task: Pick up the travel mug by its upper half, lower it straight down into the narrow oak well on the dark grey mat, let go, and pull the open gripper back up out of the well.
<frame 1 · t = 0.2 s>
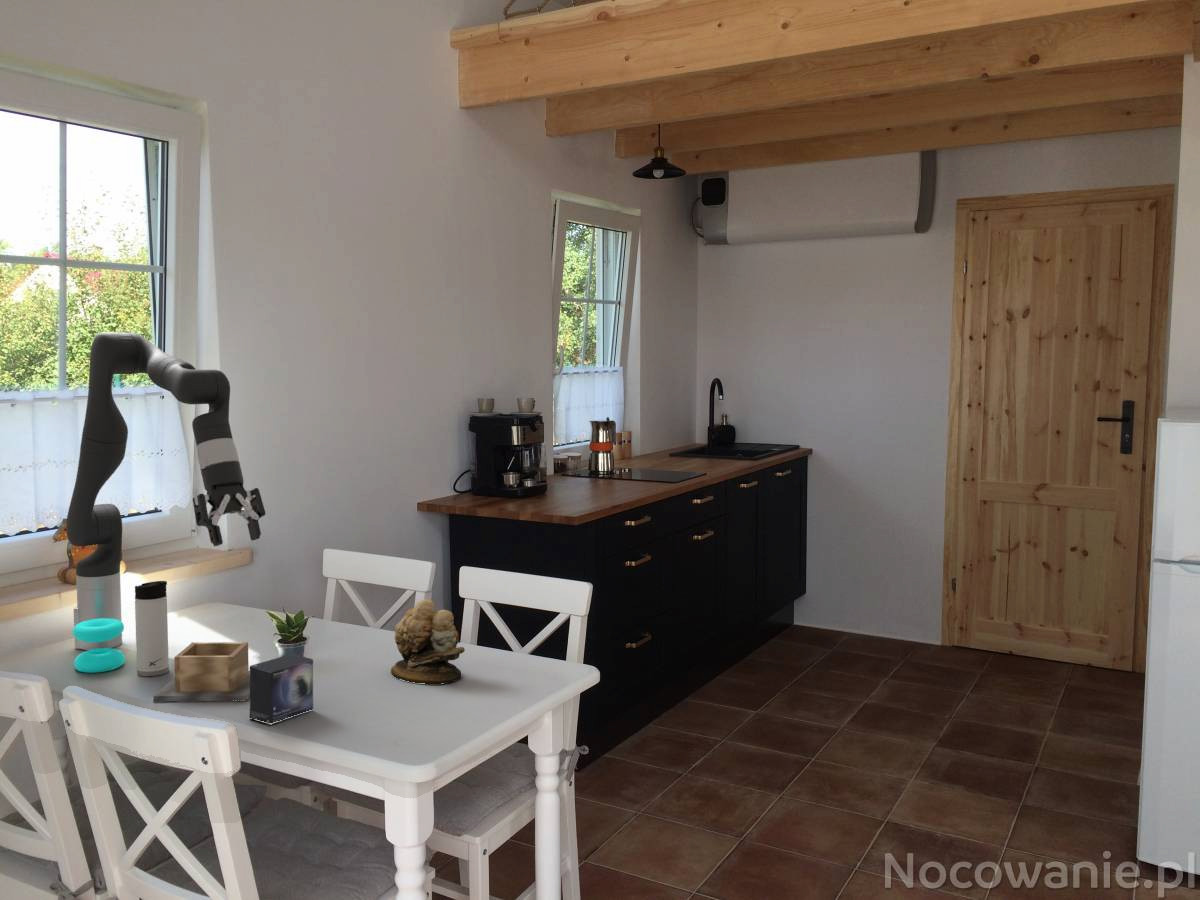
hand: (237, 542, 202), 31 cm above the table, tool tilted 20°, fingers open, 8 cm apart
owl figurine: (428, 676, 219), on the table
donuts: (99, 668, 222), on the table
small box: (282, 716, 194), on the table
travel mug: (153, 673, 219), on the table
well: (213, 688, 209), on the table
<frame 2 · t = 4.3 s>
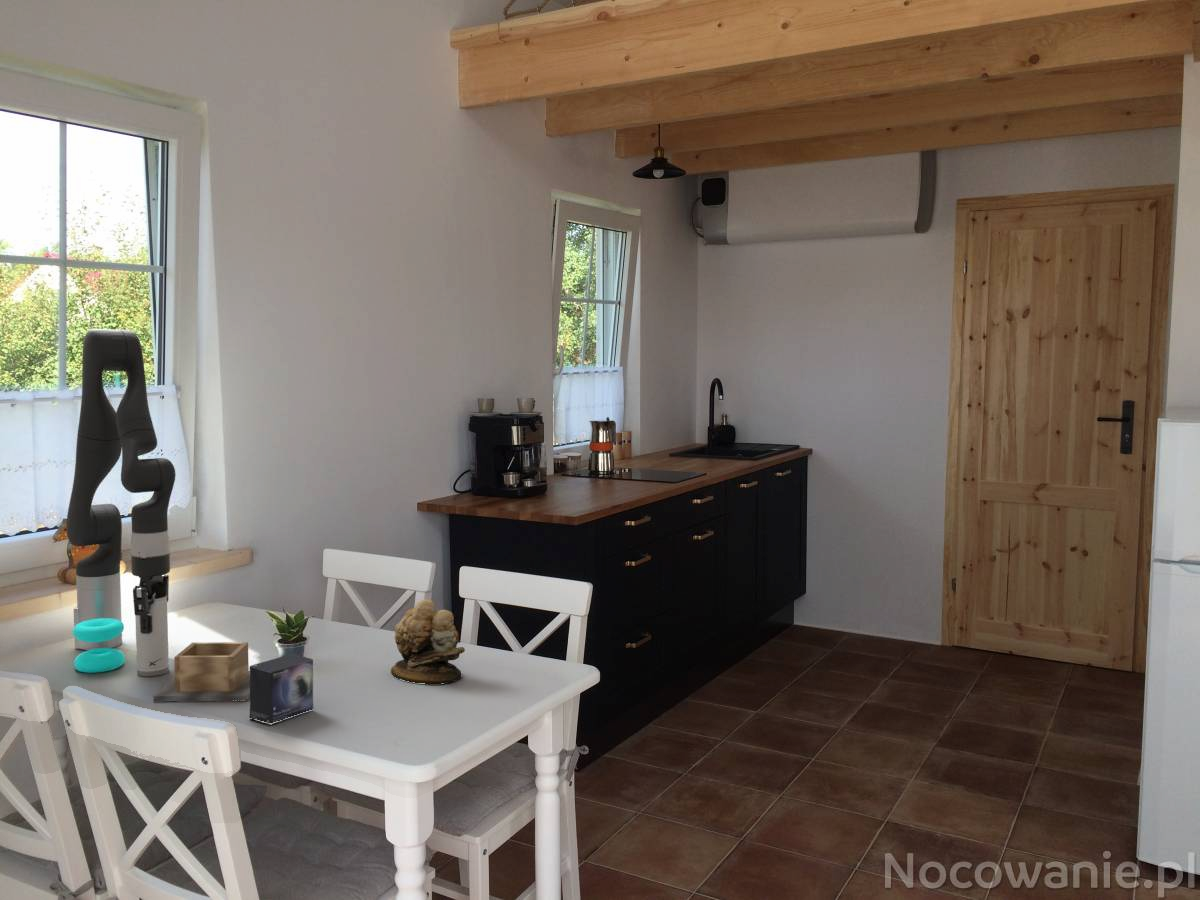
hand: (152, 628, 218), 10 cm above the table, tool pointing down, fingers closed on travel mug, 6 cm apart
travel mug: (153, 673, 219), on the table, touching gripper
everything else where it was.
when the fingers open (12 cm above the table, at t = 11.8 s): travel mug drops 1 cm, resting on well.
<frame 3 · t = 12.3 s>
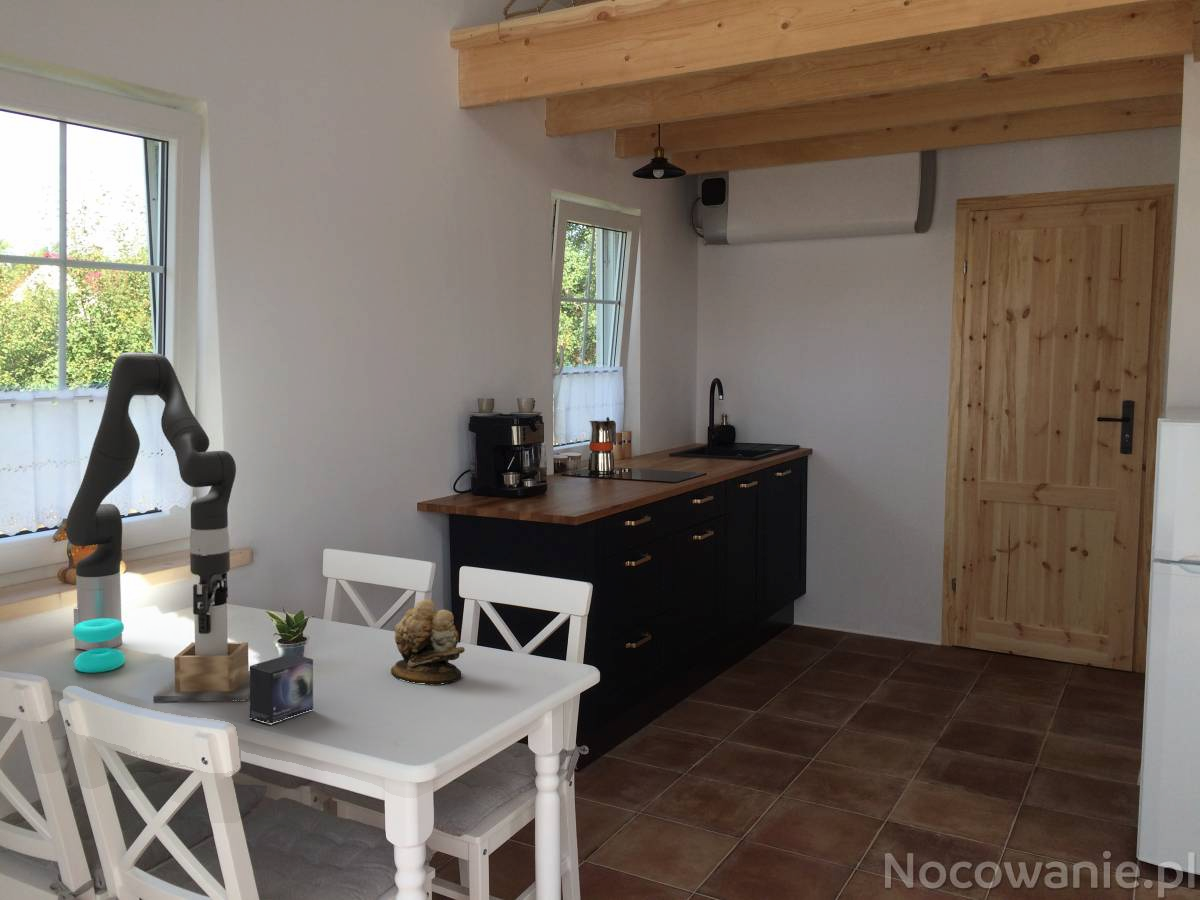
hand: (211, 627, 208), 13 cm above the table, tool pointing down, fingers open, 8 cm apart
travel mug: (212, 683, 209), point 1 cm above the table, touching well
everything else where it was.
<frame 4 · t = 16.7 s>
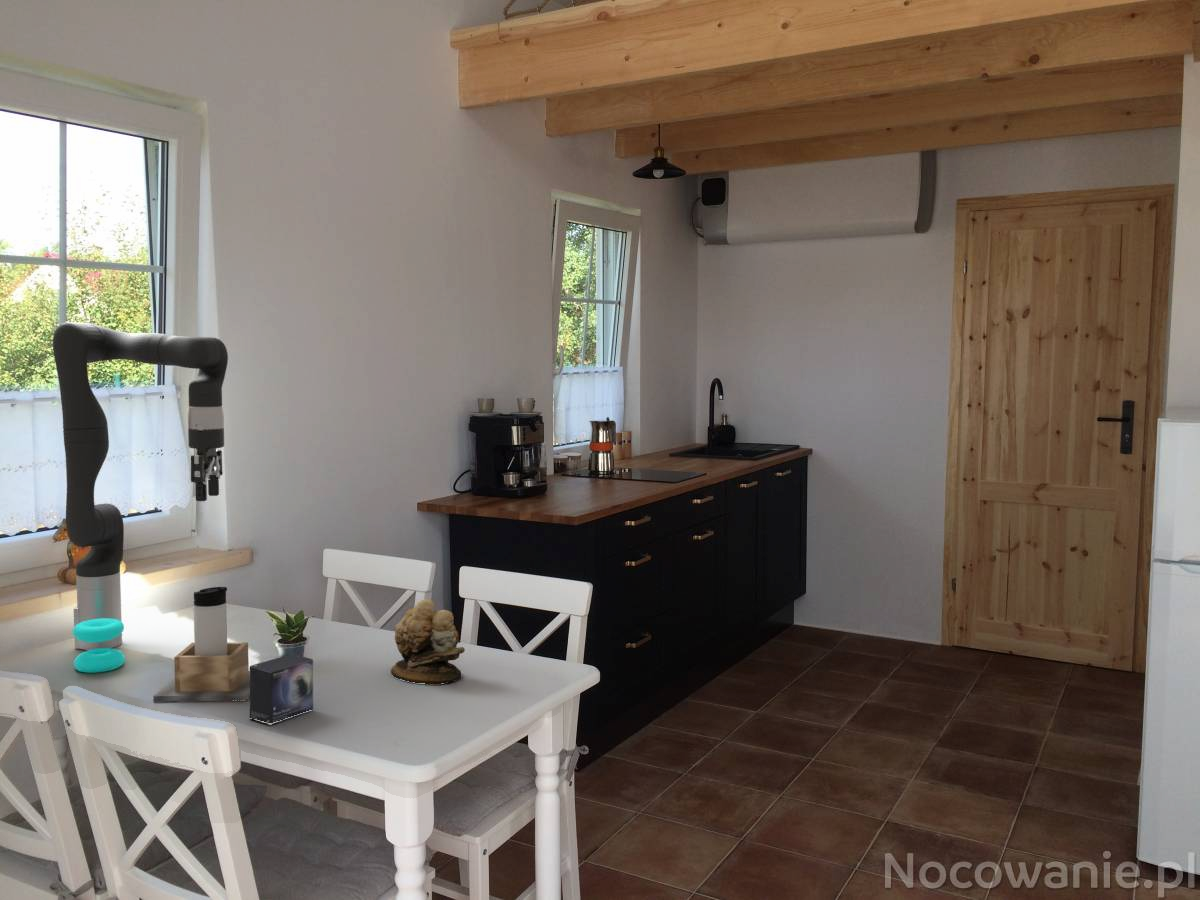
hand: (207, 498, 229), 36 cm above the table, tool pointing down, fingers open, 8 cm apart
nothing on the table moved.
at the end: travel mug 0.1 cm off-centre on the well, point 1.0 cm above the well's base; travel mug tilted 0°; the gripper is holding nothing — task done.
